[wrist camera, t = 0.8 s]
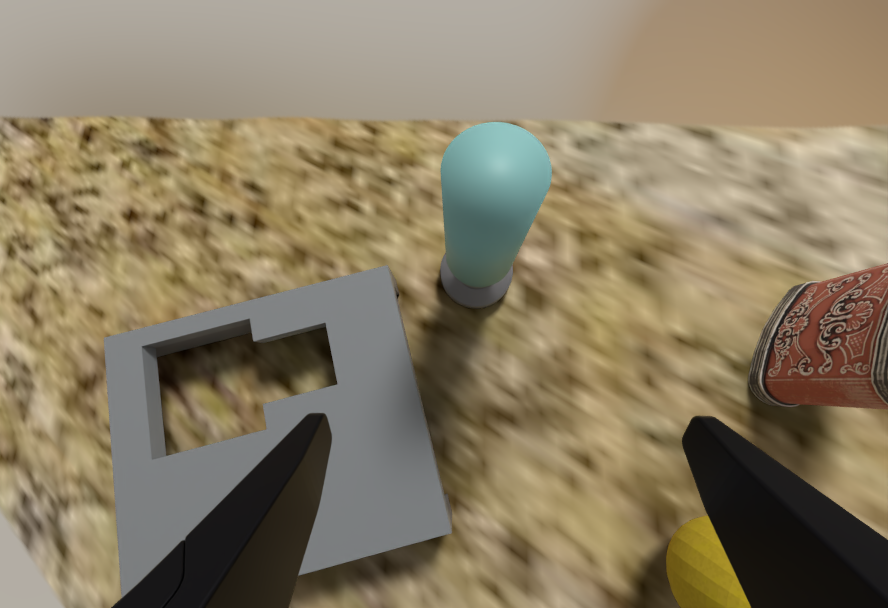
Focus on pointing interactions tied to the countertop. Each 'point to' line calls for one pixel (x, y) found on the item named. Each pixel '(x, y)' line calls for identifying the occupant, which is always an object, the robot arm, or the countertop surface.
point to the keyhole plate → (283, 428)
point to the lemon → (702, 569)
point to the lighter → (826, 344)
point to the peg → (489, 208)
